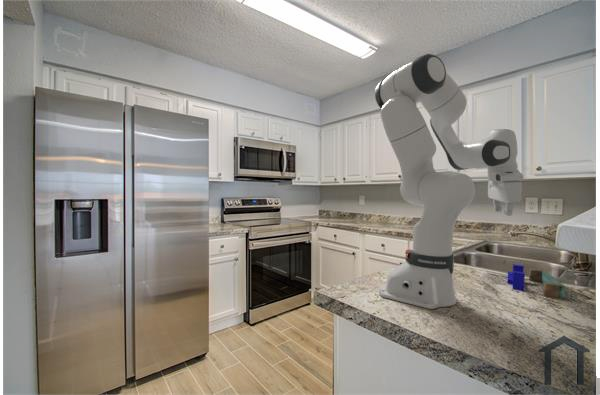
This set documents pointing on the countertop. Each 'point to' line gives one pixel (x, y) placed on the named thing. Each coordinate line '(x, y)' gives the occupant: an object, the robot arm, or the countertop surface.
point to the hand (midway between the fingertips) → (503, 213)
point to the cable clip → (517, 277)
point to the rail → (548, 283)
